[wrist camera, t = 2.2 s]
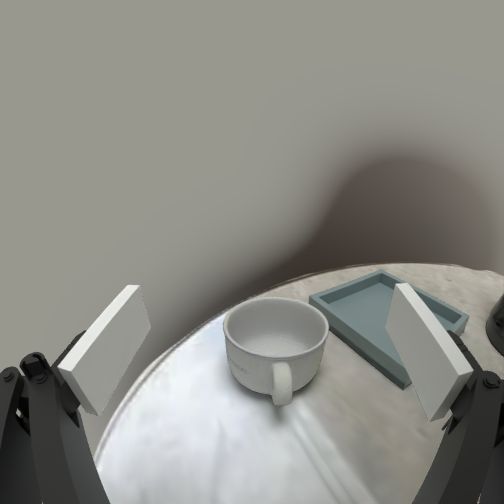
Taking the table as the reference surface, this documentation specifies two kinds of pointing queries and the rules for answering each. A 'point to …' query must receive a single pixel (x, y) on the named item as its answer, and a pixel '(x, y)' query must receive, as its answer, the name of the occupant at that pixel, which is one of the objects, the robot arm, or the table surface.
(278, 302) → the teacup
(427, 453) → the table surface
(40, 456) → the robot arm
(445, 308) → the tray
